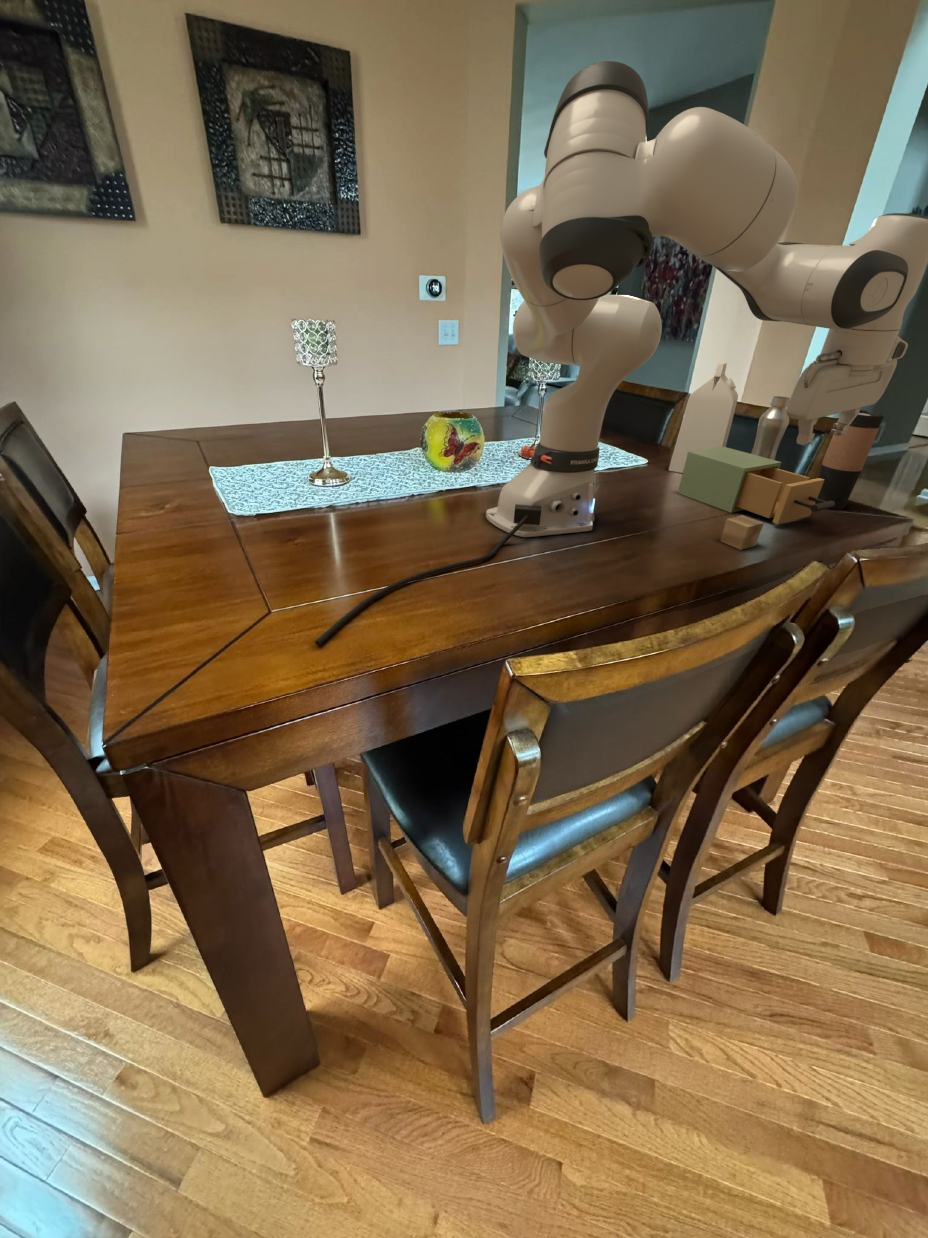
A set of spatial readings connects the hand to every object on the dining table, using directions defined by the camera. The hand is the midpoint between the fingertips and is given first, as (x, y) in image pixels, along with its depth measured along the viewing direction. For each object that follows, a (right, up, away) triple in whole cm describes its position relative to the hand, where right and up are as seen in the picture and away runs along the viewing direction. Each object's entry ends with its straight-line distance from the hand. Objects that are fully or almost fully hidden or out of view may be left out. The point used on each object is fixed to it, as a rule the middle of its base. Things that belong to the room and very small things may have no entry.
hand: (820, 438), depth 89 cm
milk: (+3, +10, +55) cm, 56 cm away
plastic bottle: (+15, +5, +48) cm, 50 cm away
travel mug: (+23, -4, +33) cm, 41 cm away
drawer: (+6, -8, +24) cm, 26 cm away
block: (-8, -16, +11) cm, 21 cm away
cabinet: (0, -2, +34) cm, 34 cm away
